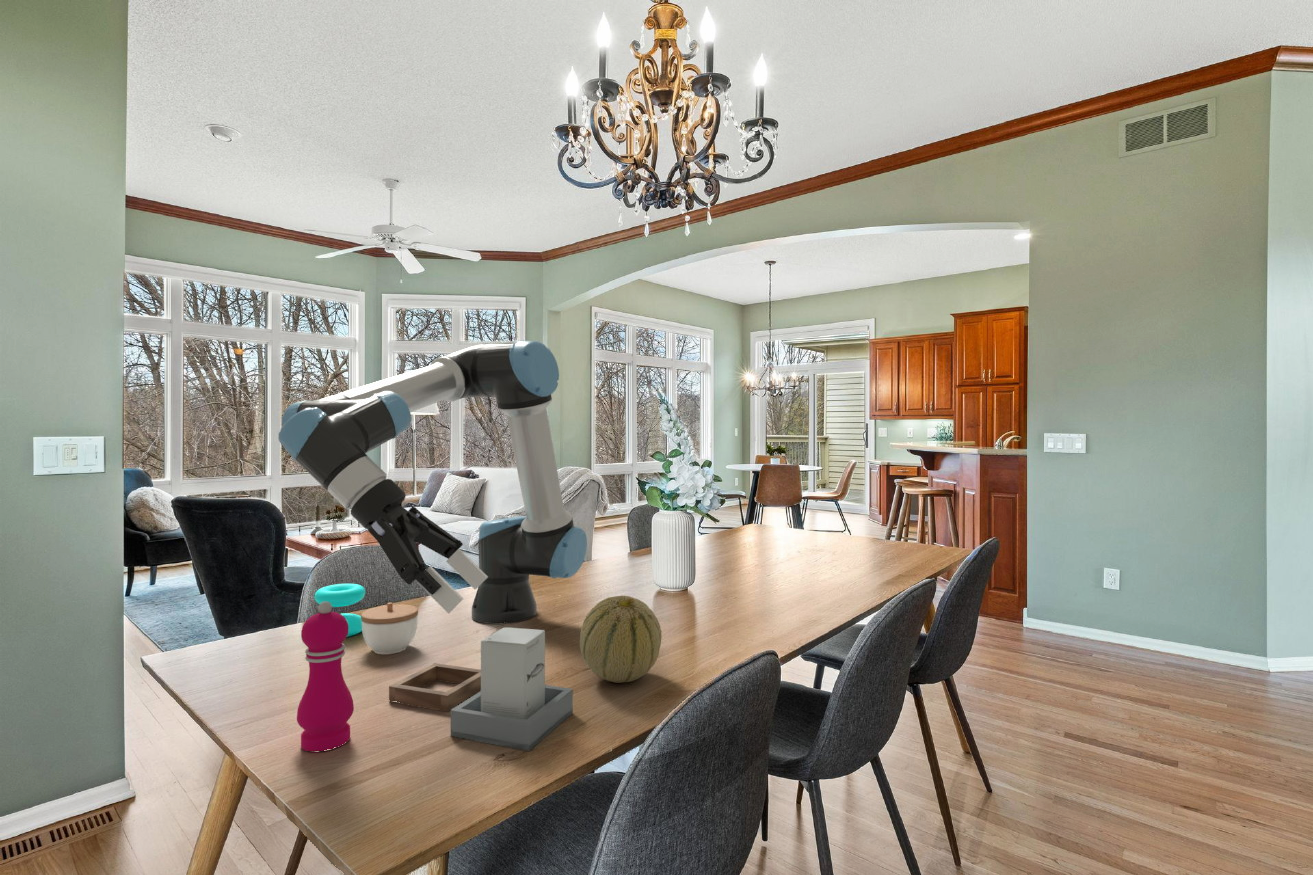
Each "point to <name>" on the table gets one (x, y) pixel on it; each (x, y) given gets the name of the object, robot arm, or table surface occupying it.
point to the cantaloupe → (620, 639)
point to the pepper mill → (325, 683)
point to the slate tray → (512, 721)
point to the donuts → (343, 602)
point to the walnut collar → (416, 695)
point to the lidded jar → (389, 627)
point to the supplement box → (513, 672)
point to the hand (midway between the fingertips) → (470, 594)
